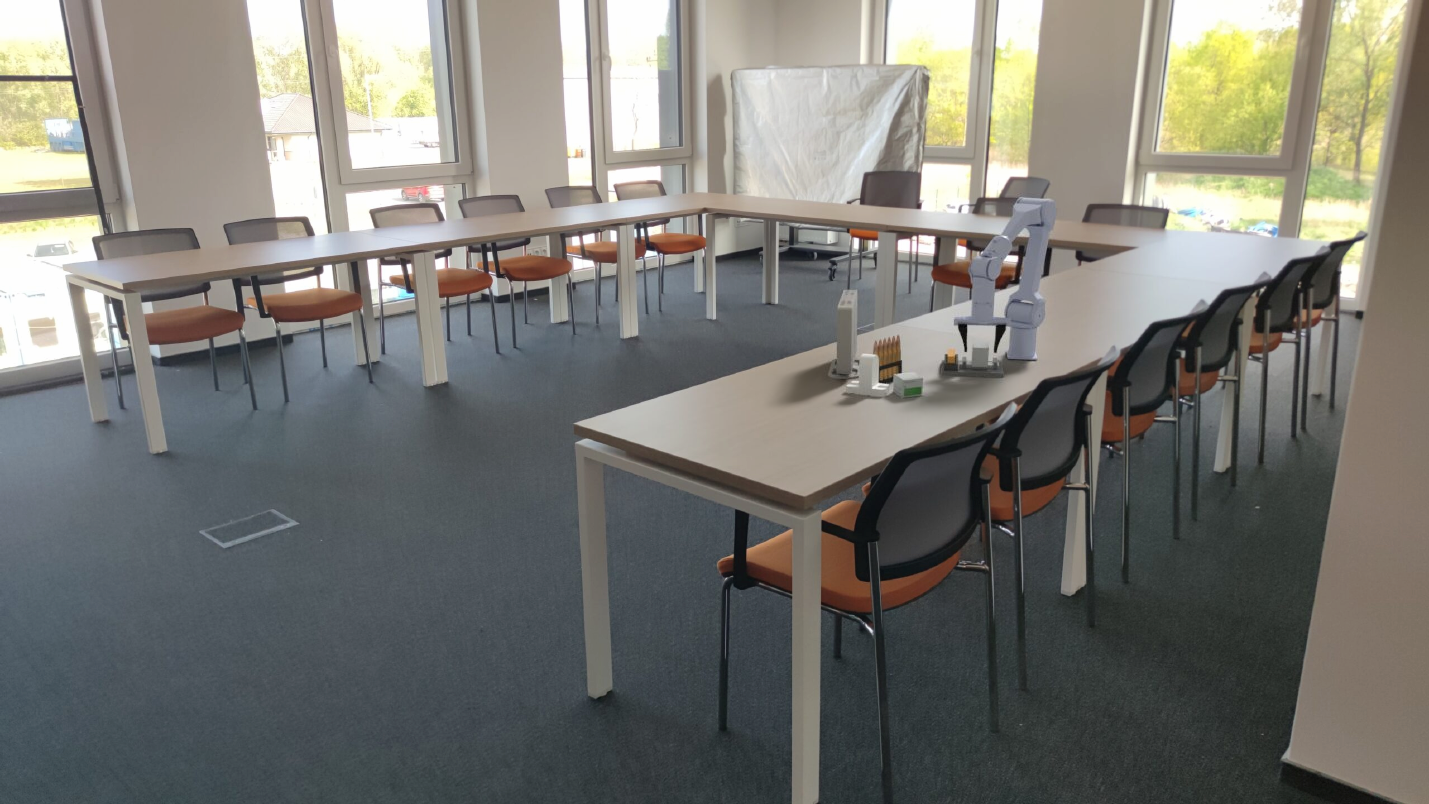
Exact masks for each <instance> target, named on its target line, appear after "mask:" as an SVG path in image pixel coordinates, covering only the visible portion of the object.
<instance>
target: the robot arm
mask: <svg viewBox="0 0 1429 804" xmlns="http://www.w3.org/2000/svg"><path fill="white" fill-rule="evenodd" d="M1057 212H1058V207H1057V205H1056V203H1055V201H1054V199H1052V198H1037V197H1036V198H1035V197H1033V198H1032V197H1025V196H1021V197H1019V198H1018V199H1016V201H1015V203H1014V204H1013V206H1012V216H1011V217H1010V219H1009V221H1008V222H1007V224H1006V226H1005V227H1004V229H1003V231H1002V232H1001V234H1000V235H995V236H994V237H992V239H991V240H990V242H989V243H988V245H987V246H986V247H985V249H984V250H983V251H982V252H981V254H980V255H977V256H976V257H974V258H972V259H971V260H970V263H969V267H968V275H969V276H970V284H971V285H972V291H971V312H970V313H971V314H970V316H954V317H953V326H957V330H958V331H959V334H960V336H961V340H962V344H963V350H964V351H963V352H964V353H968V326H987V327H989V326H990V327H992V326H993V327H994V326H995V333H994V334H995V336H994V345H993V353H994V354H997V353H998V348H999V345H1000V342H1001V340H1002V338H1003V336H1004V335H1005V332H1006V330H1007V327H1010V328H1009V340H1008V341H1009V343H1008V348H1007V349H1005V352H1006V356H1007V360H1025V361H1026V360H1030V361H1031V360H1032V361H1038V356H1037V352H1036V350H1037V349H1036V345H1037V334H1038V333H1037V332H1038V327H1041V325H1042V323H1044V321H1045V316H1046V310H1045V309H1046V300H1045V298H1043V296H1042V295H1041V294H1040V293H1039V288H1040V283H1041V277H1042V273H1043V268H1044V265H1045V258H1046V254H1047V249H1048V243H1049V239H1050V235H1051V231H1053V230H1054V227H1055V223H1056V218H1057ZM1024 229H1026V230H1027V231H1028V233H1029V237H1028V242H1027V245H1026V250H1025V251H1026V252H1025V256H1024V262H1023V266H1022V271H1021V277H1020V281H1019V286H1018V289H1017V290H1016V291H1015V292H1013V293H1012V294H1010V295H1009V296H1008V301H1007V303H1006V305H1005V308H1004V310H1003V312H1004V317H1001V316H1000V317H999V316H994V309H995V294H996V293H995V292H996V279H998V277H999V276H1000V274H1001V271H1002V267H1003V266H1004V265H1003V264H1004V261H1005V260H1006V258H1007V257H1008V256H1009V254H1010V253H1011V251H1012V250H1013V242H1014V240H1015V239H1016V238H1017V237H1018V236H1019V235H1020V234H1021V232H1022V231H1023V230H1024ZM1026 301H1027V302H1026ZM1030 302H1031V303H1030Z"/></svg>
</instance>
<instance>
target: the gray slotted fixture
mask: <svg viewBox="0 0 1429 804" xmlns="http://www.w3.org/2000/svg"><path fill="white" fill-rule="evenodd" d="M947 357H948V353H944V359H943V360H944V371H958V360H959V354H957V353H955V362H956V363H946V361H947ZM961 360H962V361H961V362H960V368H962V369H966V368H972V360H968V359H967V356H962V359H961ZM992 361H993V362H988V369H993V370H997V369H999V362H1000V361H998V357H992Z"/></svg>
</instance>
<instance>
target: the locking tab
mask: <svg viewBox="0 0 1429 804" xmlns="http://www.w3.org/2000/svg"><path fill="white" fill-rule="evenodd" d="M947 354H948V357H947V363H955V354H956V348H954V349H953V348H948V349H947Z"/></svg>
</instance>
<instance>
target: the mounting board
mask: <svg viewBox="0 0 1429 804" xmlns="http://www.w3.org/2000/svg"><path fill="white" fill-rule="evenodd" d="M961 361H962V359H958V371H944V359H941V369H940V371H941V372H940V376H958V377H959V376H960V377H985V376H986V377H985V378H987V377H988V378H990V377H992V378H1004V375H1005V374H1004V369H1003V363H1002V361H998V362H999V369H997V370H993V369H988V370H982V369H972V368H966V369H962V368H960V362H961ZM988 362H993V360H992V361H989V360H988ZM946 363H947V361H946ZM955 363H956V362H955Z"/></svg>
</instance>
